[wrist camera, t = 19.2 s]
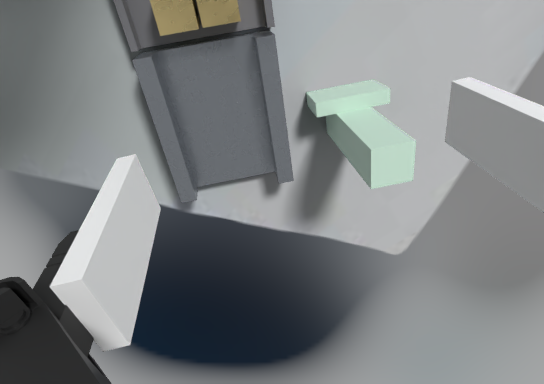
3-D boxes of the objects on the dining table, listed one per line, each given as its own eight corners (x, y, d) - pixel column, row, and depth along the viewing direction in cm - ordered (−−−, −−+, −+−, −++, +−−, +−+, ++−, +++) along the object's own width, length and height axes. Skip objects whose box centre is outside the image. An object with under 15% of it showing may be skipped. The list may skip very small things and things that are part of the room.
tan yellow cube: (194, -17, 36) (192, -18, 33) (231, -23, 36) (233, -25, 33) (203, 24, 38) (202, 28, 35) (238, 18, 38) (240, 21, 35)
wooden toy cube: (153, -9, 36) (147, -9, 32) (190, -16, 36) (188, -17, 33) (165, 32, 38) (160, 36, 34) (200, 25, 38) (198, 29, 35)
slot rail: (141, 52, 39) (132, 60, 35) (268, 29, 40) (274, 34, 36) (184, 184, 49) (181, 203, 44) (287, 164, 49) (293, 180, 45)
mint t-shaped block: (306, 92, 44) (345, 137, 31) (373, 79, 45) (442, 117, 31) (310, 136, 47) (347, 193, 34) (373, 123, 48) (435, 175, 34)
